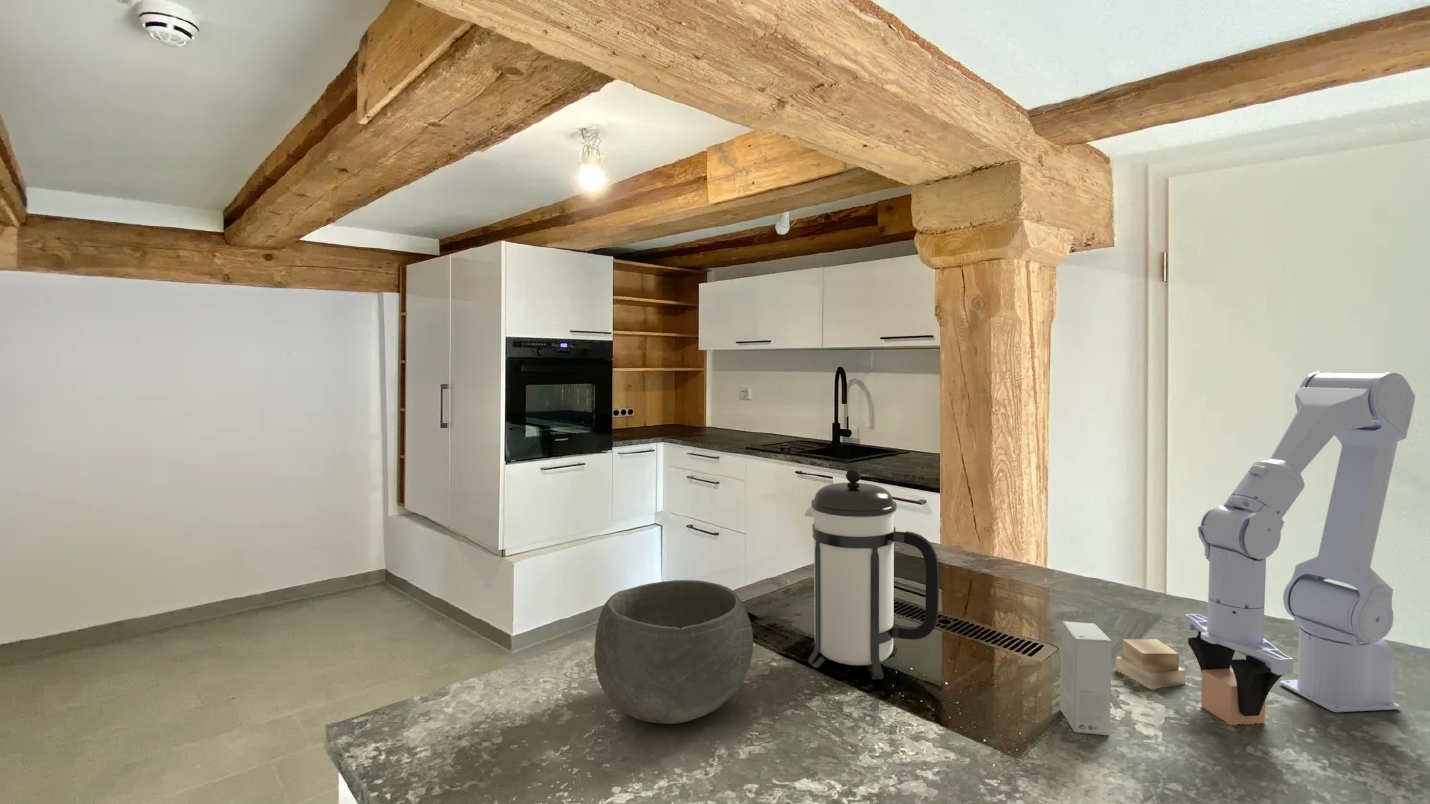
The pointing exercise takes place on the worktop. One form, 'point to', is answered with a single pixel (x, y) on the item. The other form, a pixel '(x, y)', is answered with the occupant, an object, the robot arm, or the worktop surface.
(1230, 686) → the cube
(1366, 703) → the robot arm
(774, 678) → the worktop surface
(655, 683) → the bowl
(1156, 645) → the tower mid
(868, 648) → the coffee press
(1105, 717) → the skincare box
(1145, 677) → the tower base
